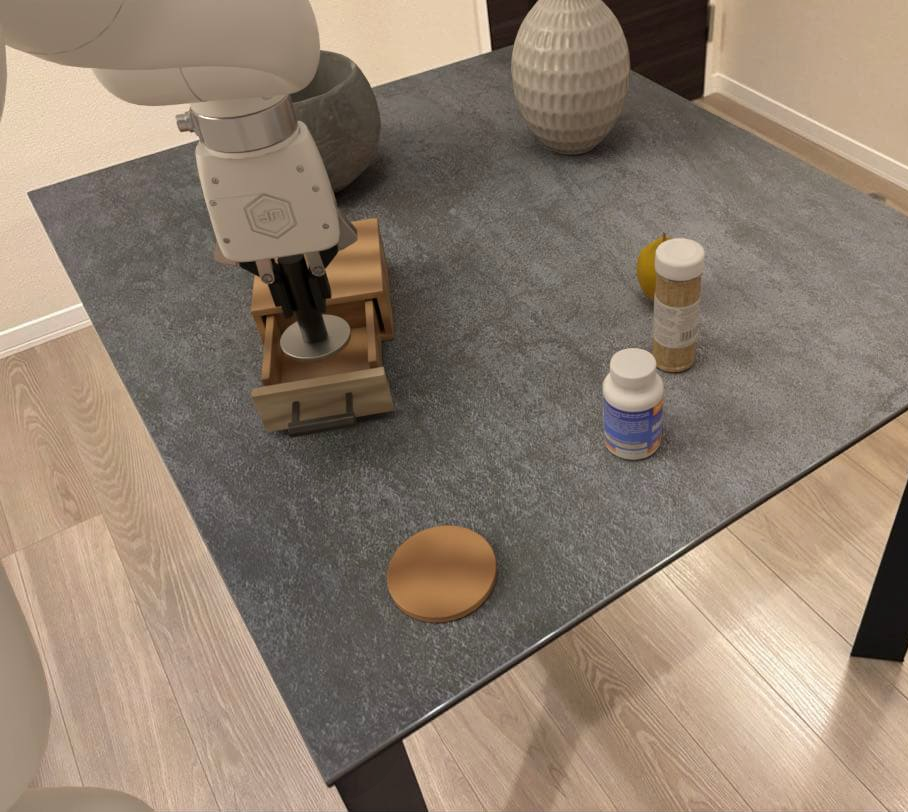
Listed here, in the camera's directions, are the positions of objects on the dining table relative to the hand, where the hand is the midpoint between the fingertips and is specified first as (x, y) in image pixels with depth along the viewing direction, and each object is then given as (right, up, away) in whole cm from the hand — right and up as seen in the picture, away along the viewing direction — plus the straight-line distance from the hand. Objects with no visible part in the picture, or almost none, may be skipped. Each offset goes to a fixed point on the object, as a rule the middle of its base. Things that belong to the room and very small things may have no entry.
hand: (305, 305), depth 78 cm
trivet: (+14, -23, -10) cm, 29 cm away
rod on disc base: (0, -3, +3) cm, 4 cm away
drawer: (+1, -8, +6) cm, 10 cm away
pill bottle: (+31, -13, 0) cm, 33 cm away
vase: (+27, +29, +42) cm, 58 cm away
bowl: (-9, +22, +39) cm, 46 cm away
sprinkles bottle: (+36, -5, +7) cm, 37 cm away
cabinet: (-2, +2, +17) cm, 17 cm away
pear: (+36, +2, +15) cm, 39 cm away
